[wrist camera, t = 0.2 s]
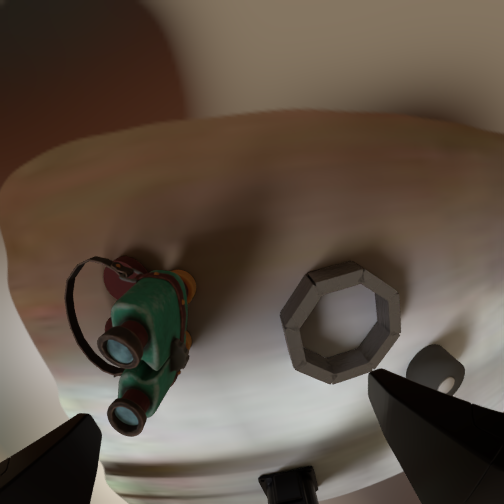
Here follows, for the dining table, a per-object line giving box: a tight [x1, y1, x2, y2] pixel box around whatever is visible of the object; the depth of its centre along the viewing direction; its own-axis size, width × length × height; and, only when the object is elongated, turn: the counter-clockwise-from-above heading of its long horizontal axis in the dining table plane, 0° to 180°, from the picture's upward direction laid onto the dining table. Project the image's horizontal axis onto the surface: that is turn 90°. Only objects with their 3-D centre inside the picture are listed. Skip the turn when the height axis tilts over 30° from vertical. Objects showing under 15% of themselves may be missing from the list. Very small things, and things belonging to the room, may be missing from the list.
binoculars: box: [64, 256, 196, 437], centre depth 17 cm, size 9×11×10 cm
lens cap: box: [406, 344, 465, 396], centre depth 23 cm, size 5×5×4 cm
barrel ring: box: [280, 261, 401, 384], centre depth 22 cm, size 9×9×2 cm
